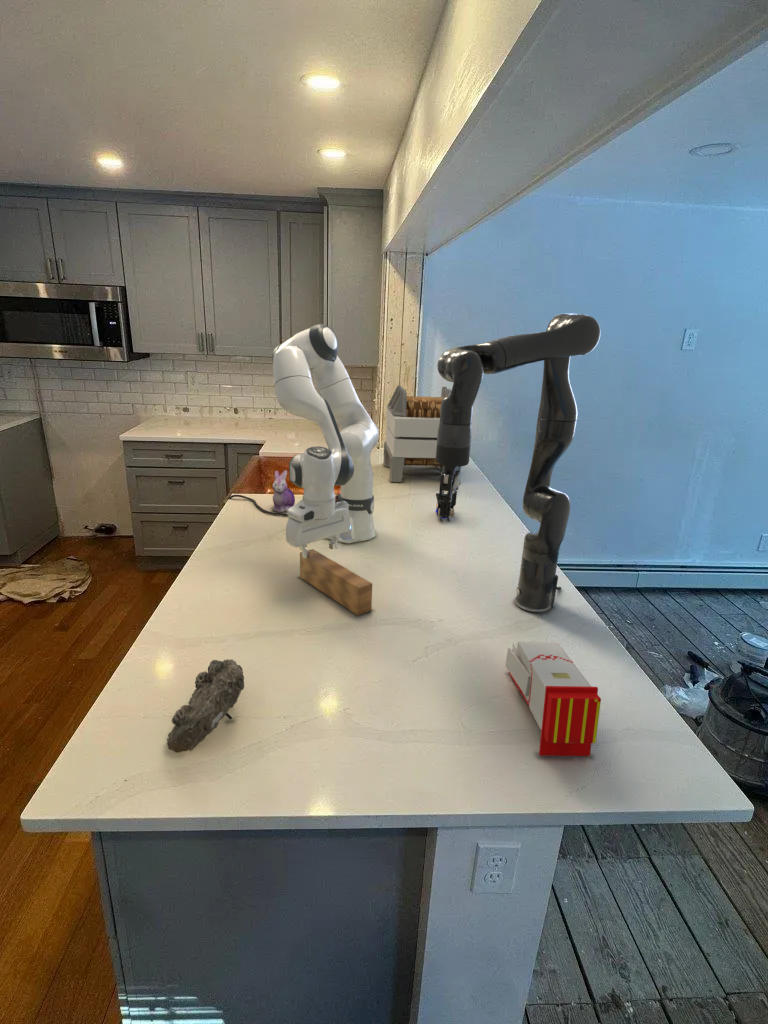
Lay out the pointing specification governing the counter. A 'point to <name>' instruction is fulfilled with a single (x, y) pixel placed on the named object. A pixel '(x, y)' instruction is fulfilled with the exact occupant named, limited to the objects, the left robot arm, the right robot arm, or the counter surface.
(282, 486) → the figurine
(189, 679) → the counter surface
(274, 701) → the counter surface
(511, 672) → the toy
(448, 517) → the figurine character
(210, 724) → the fossil
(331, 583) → the bar
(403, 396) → the legged crate with fins
